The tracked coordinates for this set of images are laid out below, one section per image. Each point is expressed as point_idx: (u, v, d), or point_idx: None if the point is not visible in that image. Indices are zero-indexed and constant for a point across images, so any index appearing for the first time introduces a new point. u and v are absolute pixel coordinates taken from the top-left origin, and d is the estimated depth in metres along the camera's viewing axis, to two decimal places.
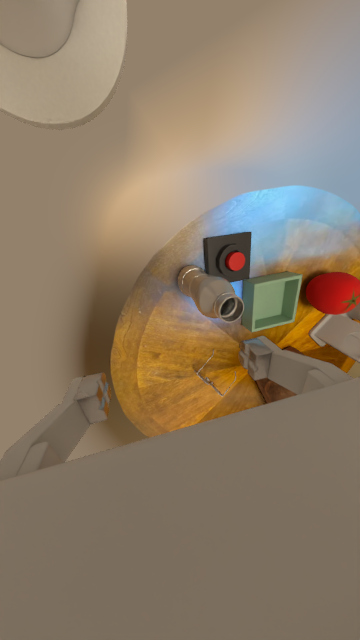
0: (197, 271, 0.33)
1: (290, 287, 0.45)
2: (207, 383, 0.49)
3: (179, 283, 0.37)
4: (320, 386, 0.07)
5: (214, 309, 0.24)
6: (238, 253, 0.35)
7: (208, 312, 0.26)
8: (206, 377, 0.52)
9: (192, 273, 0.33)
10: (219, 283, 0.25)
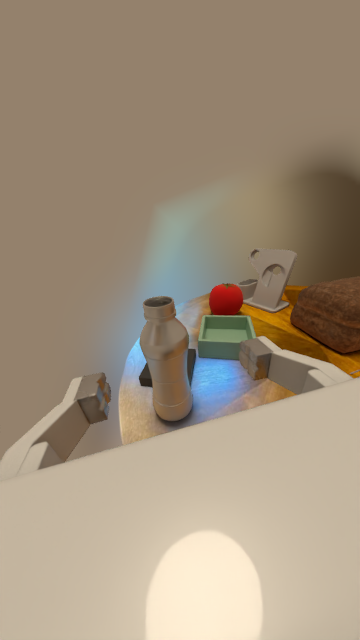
0: None
1: (215, 323, 0.50)
2: None
3: (165, 412, 0.26)
4: (320, 386, 0.07)
5: (155, 318, 0.20)
6: None
7: (167, 334, 0.21)
8: None
9: (152, 383, 0.27)
10: None
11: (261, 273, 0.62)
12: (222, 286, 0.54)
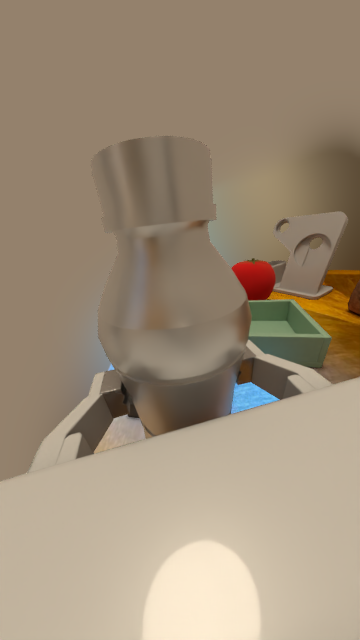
0: None
1: None
2: None
3: None
4: (298, 392, 0.07)
5: (141, 209, 0.05)
6: None
7: (190, 282, 0.05)
8: None
9: None
10: None
11: (293, 249, 0.47)
12: (246, 262, 0.39)
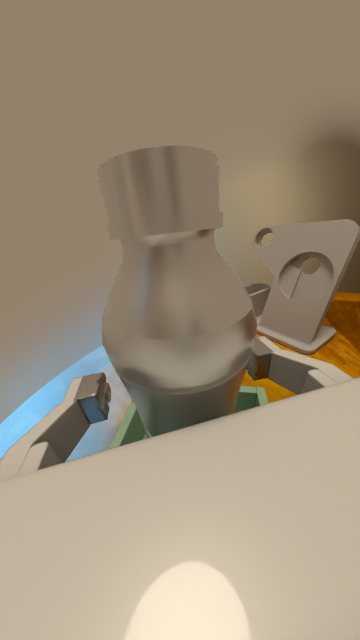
0: None
1: None
2: None
3: None
4: (320, 386, 0.07)
5: (148, 218, 0.05)
6: None
7: (197, 290, 0.05)
8: None
9: None
10: None
11: (277, 272, 0.32)
12: None
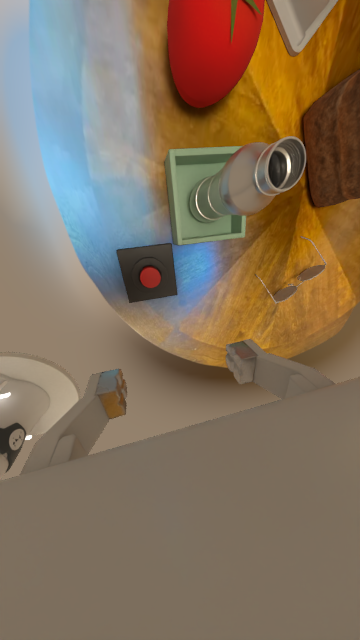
0: (201, 197, 0.26)
1: (189, 160, 0.27)
2: (294, 290, 0.40)
3: (210, 221, 0.30)
4: (301, 391, 0.07)
5: (273, 195, 0.17)
6: (141, 277, 0.31)
7: (270, 199, 0.18)
8: (288, 284, 0.42)
9: (204, 206, 0.26)
10: (234, 178, 0.17)
11: None
12: None
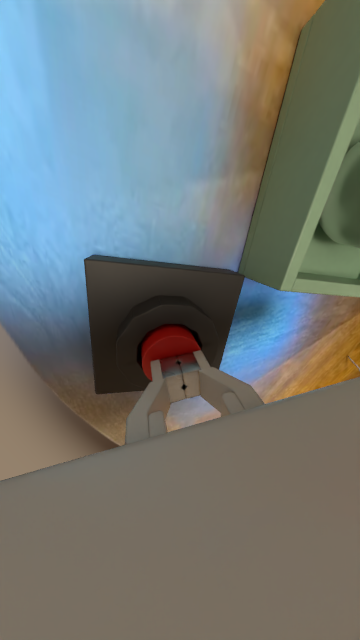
0: None
1: None
2: None
3: None
4: (228, 412, 0.06)
5: None
6: (146, 359, 0.10)
7: None
8: None
9: None
10: None
11: None
12: None
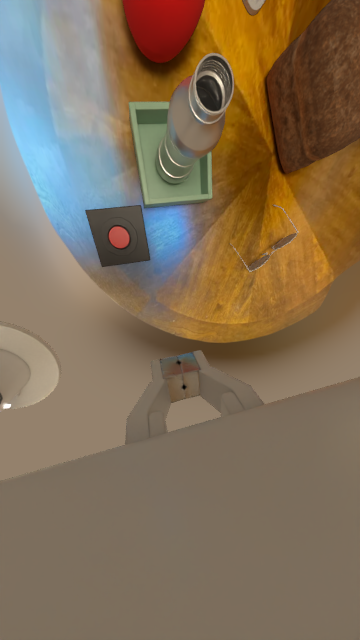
0: (162, 151, 0.27)
1: (152, 117, 0.28)
2: (267, 258, 0.41)
3: (176, 181, 0.31)
4: (228, 413, 0.06)
5: (210, 122, 0.17)
6: (109, 237, 0.32)
7: (213, 134, 0.19)
8: (262, 254, 0.43)
9: (165, 159, 0.27)
10: (176, 110, 0.18)
11: None
12: None
